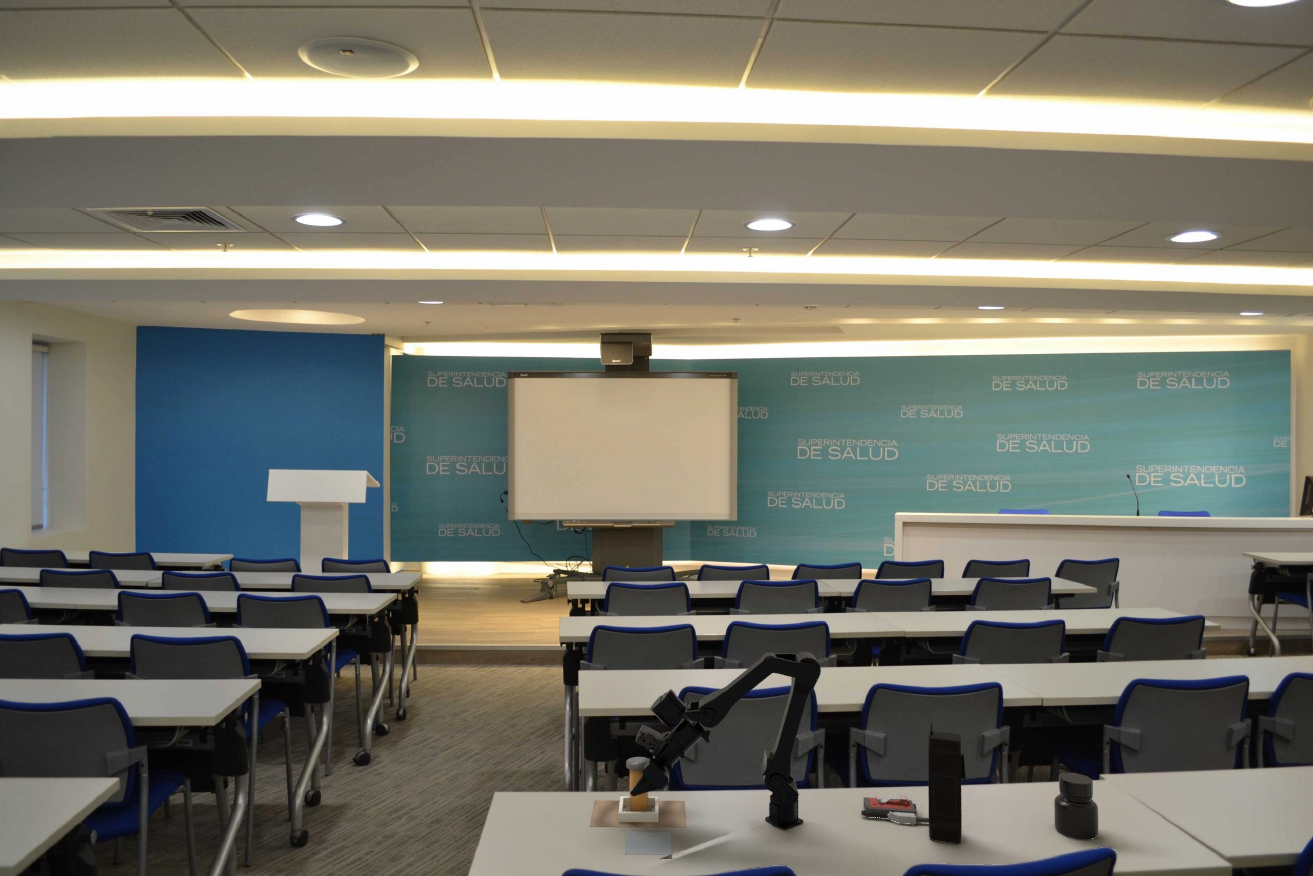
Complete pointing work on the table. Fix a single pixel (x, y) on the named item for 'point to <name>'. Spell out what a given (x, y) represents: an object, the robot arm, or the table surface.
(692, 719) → the robot arm
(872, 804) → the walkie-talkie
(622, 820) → the white square frame
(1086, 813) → the ink bottle
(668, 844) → the grey mat
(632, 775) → the orange cylinder grey ends
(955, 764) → the portable radio
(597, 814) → the walnut board
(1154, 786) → the table surface
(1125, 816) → the table surface
